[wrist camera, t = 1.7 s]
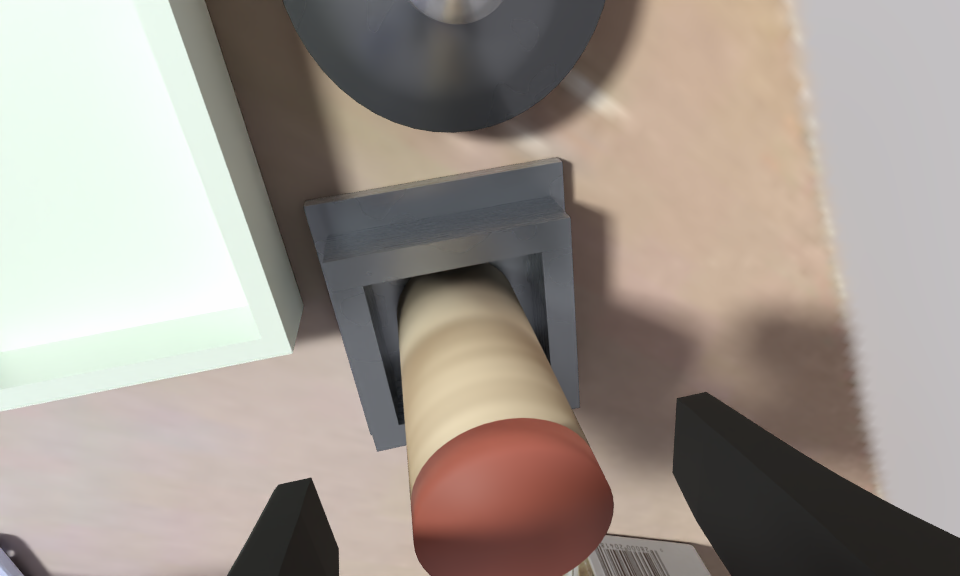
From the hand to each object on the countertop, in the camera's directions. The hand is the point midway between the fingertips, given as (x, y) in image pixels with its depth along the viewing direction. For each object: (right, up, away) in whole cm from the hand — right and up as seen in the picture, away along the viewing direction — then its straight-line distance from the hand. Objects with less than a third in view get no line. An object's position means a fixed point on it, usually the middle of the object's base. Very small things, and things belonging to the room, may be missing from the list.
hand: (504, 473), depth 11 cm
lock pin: (-1, +3, +6) cm, 7 cm away
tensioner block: (-1, +3, +6) cm, 7 cm away
